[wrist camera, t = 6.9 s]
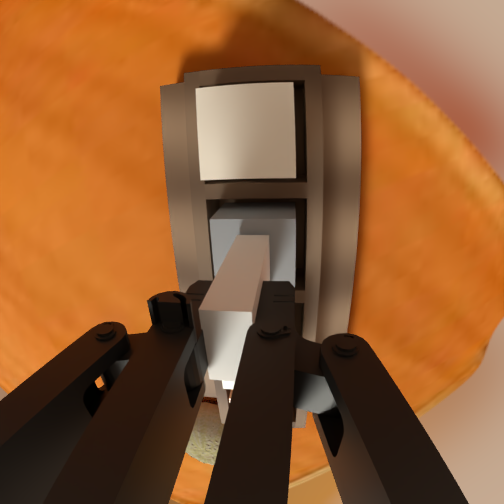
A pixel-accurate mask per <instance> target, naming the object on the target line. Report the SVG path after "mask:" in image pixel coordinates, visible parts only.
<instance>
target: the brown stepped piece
mask: <svg viewBox="0 0 504 504" xmlns="http://www.w3.org/2000/svg"><path fill="white" fill-rule="evenodd" d="M279 82H293V87H294V112H295V147H296V178H255V179H221V180H201V179H200V165H199V149H198V131H197V111H196V88H204V87H214V86H224V85H237V84H252V83H279ZM160 93H161V117H162V134H163V149H164V162H165V174H166V185H167V196H168V205H169V215H170V223H171V232H172V240H173V247H174V255H175V262H176V269H177V276H178V283H179V289H180V292H183V293H186V291H187V289H188V288H189V286H190V285H192V284H193V283H195V282H196V281H198V280H211V281H213V280H214V278H215V275H214V264H213V254H212V242H211V231H210V218H211V217H212V216H213V215H214V214H215V213H216V212H217V211H218V210H219V208H220V207H221V206H222V205H223V204H224V203H251V202H295V212H296V259H295V329H296V331H297V333H298V334H299V335H300V336H301V337H303V338H305V339H307V340H309V341H312V342H316V343H321V344H322V342H323V340H324V339H326V338H327V337H328V336H331V335H334V334H337V333H347V328H348V321H349V314H350V307H351V299H352V291H353V282H354V272H355V262H356V251H357V239H358V225H359V208H360V184H361V104H360V82H359V77H355V76H340V75H321V69H320V65H265V66H247V67H233V68H222V69H213V70H204V71H197V72H189V73H184V82H183V83H176V84H170V85H164V86H160ZM204 379H205V385H206V389H205V394H204V396H205V397H215V398H217V401H218V407H219V413H220V418H221V423H223V424H225V420H226V416H227V412H228V408H229V404H230V403H229V396H230V392H231V389H223V384H222V380H211V379H209V373H208V368H207V371H206V374H205V377H204ZM306 418H307V411H305V410H302V409H298V408H294V407H293V422H292V428H305V425H306Z"/></svg>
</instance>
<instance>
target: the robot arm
mask: <svg viewBox="0 0 504 504" xmlns="http://www.w3.org/2000/svg"><path fill="white" fill-rule="evenodd" d="M147 303H148V307H149V312H150V316H151V320H152V326H151V328H150V329H149V331H148V332H146V333H139V334H127V330H126V328H125V326H124V325H123V324H121V323H118V322H104V323H102V324H98V325H97V326H95V327H93V328H92V329H90V330H89V331H88V332H86V333H85V334H84V335H82V336H81V337H80V338H79V339H77V340H76V341H75V342H73V343H72V344H71V345H69V346H68V347H67V348H66V349H64V350H63V351H62V352H60V353H59V354H58V355H57V356H55V357H54V358H53V359H52V360H50V361H49V362H48V363H47V364H45V365H44V366H43V367H42V368H40V369H39V370H38V371H36V372H35V373H34V374H33V375H32V376H30V377H29V378H28V379H27V380H25V381H24V382H23V383H22V384H20V385H19V386H18V387H17V388H15V389H14V390H13V391H12V392H11V393H9V394H8V395H7V396H6V397H5V398H3V399H2V400H1V401H0V504H168V503H169V500H170V497H171V494H172V491H173V488H174V485H175V482H176V479H177V476H178V473H179V470H180V467H181V464H182V461H183V457H184V454H185V451H186V448H187V445H188V442H189V439H190V436H191V433H192V430H193V427H194V424H195V421H196V418H197V415H198V412H199V409H200V406H201V403H202V400H203V397H204V394H205V389H206V385H205V379H204V377H205V374H206V371H207V368H208V373H209V379H211V380H222V381H235V383H234V387H233V392H232V396H231V400H230V404H229V408H228V412H227V416H226V420H225V424H224V428H223V432H222V436H221V440H220V444H219V448H218V452H217V456H216V460H215V464H214V468H213V471H212V475H211V479H210V483H209V487H208V491H207V495H206V499H205V502H204V504H287V500H288V488H289V474H290V459H291V441H292V422H293V407H294V408H298V409H302V410H305V411H309V412H312V413H313V418H314V421H315V424H316V427H317V430H318V433H319V436H320V439H321V441H322V444H323V447H324V450H325V453H326V456H327V459H328V462H329V465H330V467H331V470H332V473H333V476H334V479H335V482H336V485H337V487H338V491H339V493H340V496H341V499H342V502H343V504H469V503H468V501H467V500H466V498H465V496H464V495H463V493H462V491H461V489H460V487H459V486H458V484H457V482H456V480H455V479H454V477H453V475H452V474H451V472H450V470H449V469H448V467H447V465H446V463H445V462H444V460H443V459H442V457H441V455H440V453H439V452H438V450H437V449H436V447H435V445H434V444H433V442H432V440H431V439H430V437H429V436H428V434H427V432H426V431H425V429H424V427H423V426H422V424H421V423H420V421H419V420H418V418H417V416H416V415H415V413H414V412H413V410H412V409H411V407H410V405H409V404H408V402H407V401H406V399H405V398H404V396H403V395H402V393H401V392H400V390H399V388H398V387H397V385H396V384H395V382H394V381H393V379H392V378H391V376H390V375H389V373H388V372H387V370H386V369H385V367H384V366H383V364H382V363H381V361H380V360H379V358H378V357H377V355H376V354H375V352H374V351H373V349H372V348H371V347H370V345H369V344H368V343H367V342H366V341H365V340H364V339H363V338H361V337H359V336H357V335H354V334H348V333H337V334H334V335H331V336H328V337H327V338H326V339H324V340H323V342H322V344H321V343H316V342H312V341H309V340H307V339H305V338H303V337H301V336H300V335H299V334H298V333H297V331H296V329H295V287H294V286H293V285H292V284H291V282H290V281H270V249H269V235H237V236H236V238H235V240H234V242H233V244H232V246H231V248H230V249H229V251H228V253H227V255H226V257H225V259H224V261H223V263H222V265H221V267H220V269H219V271H218V273H217V274H216V276H215V278H214V280H213V281H211V280H198V281H196V282H195V283H193V284H192V285H190V286H189V288H188V289H187V291H186V293H183V292H178V291H167V292H163V293H159V294H157V295H154V296H152V297H151V298H150V299H149V300H147ZM99 376H101V378H102V380H103V383H104V385H103V386H102V387H100V388H97V386H96V384H95V380H96V379H97V378H98V377H99Z"/></svg>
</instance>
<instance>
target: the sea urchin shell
mask: <svg viewBox="0 0 504 504" xmlns="http://www.w3.org/2000/svg"><path fill="white" fill-rule="evenodd" d="M223 428H224V424H223V423H221V418H220V413H219V407H218V405H216V404H211V403H208V402H202V403H201V406H200V409H199V412H198V415H197V418H196V421H195V424H194V427H193V430H192V433H191V436H190V439H189V442H188V445H187V448H186V451H185V452H186V453H188V454H189V455H190V456H191V457H193V458H196V459H197V460H199V461H201V462H203V463H208V464H211V465H214V464H215V460H216V456H217V452H218V448H219V444H220V440H221V436H222V432H223Z"/></svg>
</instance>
